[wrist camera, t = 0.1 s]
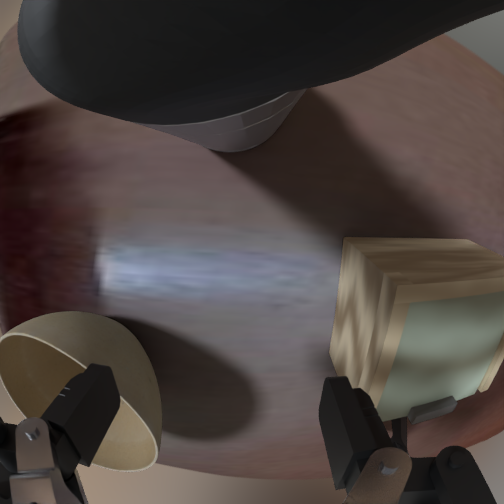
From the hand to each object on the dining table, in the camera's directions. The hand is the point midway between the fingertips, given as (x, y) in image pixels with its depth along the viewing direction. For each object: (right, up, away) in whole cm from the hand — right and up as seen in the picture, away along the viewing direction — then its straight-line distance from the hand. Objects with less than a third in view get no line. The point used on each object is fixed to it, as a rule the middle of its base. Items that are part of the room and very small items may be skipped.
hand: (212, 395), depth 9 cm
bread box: (+18, 0, +18) cm, 25 cm away
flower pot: (-15, -6, +20) cm, 26 cm away
